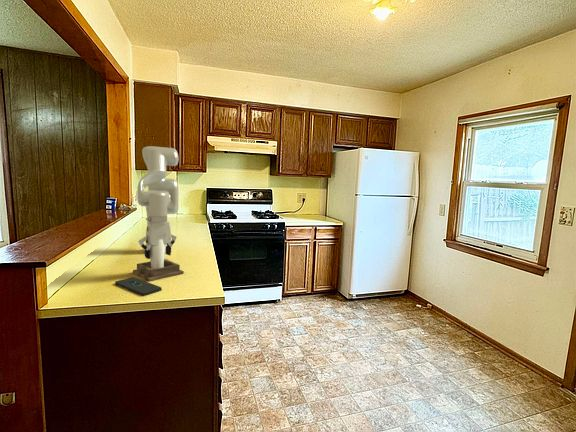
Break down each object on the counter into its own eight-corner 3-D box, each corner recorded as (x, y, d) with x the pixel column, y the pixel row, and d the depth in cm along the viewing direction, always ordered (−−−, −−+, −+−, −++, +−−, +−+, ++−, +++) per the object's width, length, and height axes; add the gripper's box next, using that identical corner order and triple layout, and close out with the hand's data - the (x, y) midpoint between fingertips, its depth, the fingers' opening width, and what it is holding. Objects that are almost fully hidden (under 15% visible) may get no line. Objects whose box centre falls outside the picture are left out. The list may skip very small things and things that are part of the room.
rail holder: (132, 272, 140) (132, 263, 139) (165, 266, 152) (165, 257, 152) (149, 281, 130) (149, 271, 129) (183, 273, 142) (183, 264, 141)
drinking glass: (159, 273, 137) (159, 240, 135) (146, 271, 138) (145, 239, 136) (168, 269, 143) (168, 237, 141) (155, 267, 145) (155, 236, 143)
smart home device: (133, 276, 131) (162, 287, 121) (133, 280, 132) (162, 291, 121) (113, 281, 124) (143, 293, 114) (114, 285, 125) (143, 297, 114)
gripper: (142, 222, 129) (143, 261, 131) (180, 219, 142) (180, 255, 144) (134, 219, 134) (135, 258, 136) (171, 217, 147) (171, 252, 149)
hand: (158, 256), depth 140 cm, fingers open, 9 cm apart
